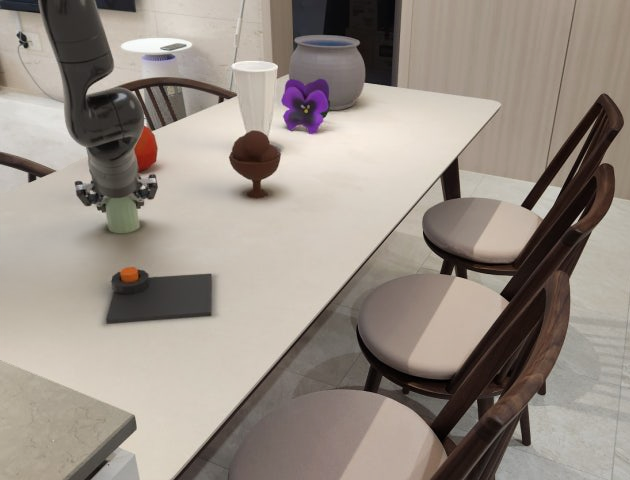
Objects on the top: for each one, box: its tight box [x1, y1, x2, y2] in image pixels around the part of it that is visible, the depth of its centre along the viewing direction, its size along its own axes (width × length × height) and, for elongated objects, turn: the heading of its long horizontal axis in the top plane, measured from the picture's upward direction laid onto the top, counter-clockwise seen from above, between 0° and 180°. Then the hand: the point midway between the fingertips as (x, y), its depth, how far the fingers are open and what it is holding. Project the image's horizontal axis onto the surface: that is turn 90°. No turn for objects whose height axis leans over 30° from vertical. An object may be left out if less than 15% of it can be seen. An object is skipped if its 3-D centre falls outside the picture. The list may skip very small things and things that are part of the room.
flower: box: [280, 79, 330, 135], centre depth 185 cm, size 15×15×14 cm
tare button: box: [119, 266, 139, 283], centre depth 101 cm, size 3×3×2 cm
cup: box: [230, 60, 281, 153], centre depth 160 cm, size 12×12×22 cm
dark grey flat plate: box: [105, 268, 213, 325], centre depth 100 cm, size 15×12×3 cm
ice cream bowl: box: [228, 130, 282, 199], centre depth 135 cm, size 11×11×15 cm
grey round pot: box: [288, 34, 366, 111], centre depth 205 cm, size 25×25×20 cm
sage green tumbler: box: [104, 197, 141, 234], centre depth 120 cm, size 6×6×8 cm
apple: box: [134, 125, 158, 172], centre depth 148 cm, size 10×10×12 cm
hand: (120, 205), depth 121 cm, fingers closed on sage green tumbler, 5 cm apart
